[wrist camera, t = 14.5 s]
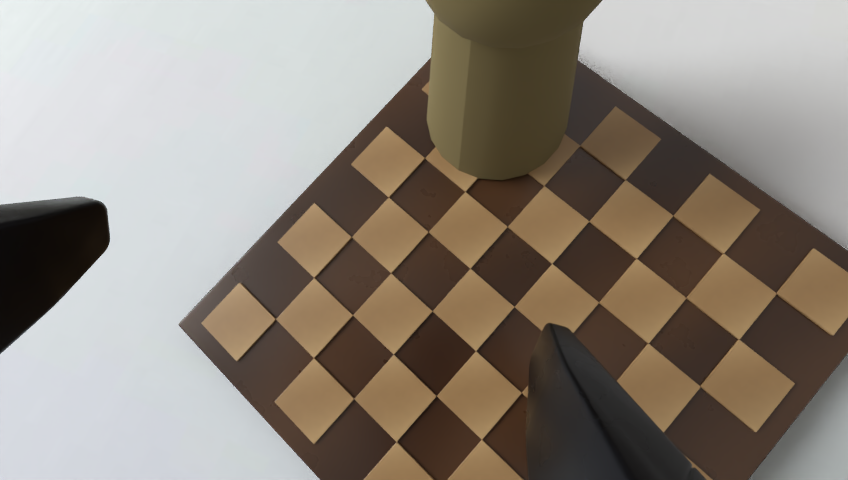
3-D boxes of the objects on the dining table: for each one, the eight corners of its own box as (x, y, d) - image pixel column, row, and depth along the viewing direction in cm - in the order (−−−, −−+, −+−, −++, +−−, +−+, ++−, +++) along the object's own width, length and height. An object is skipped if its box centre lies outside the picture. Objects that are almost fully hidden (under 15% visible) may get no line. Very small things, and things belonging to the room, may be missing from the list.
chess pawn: (504, 25, 21) (538, -305, 10) (599, 119, 19) (755, -145, 9) (398, 107, 20) (319, -140, 10) (488, 209, 19) (509, 50, 8)
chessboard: (875, 289, 18) (904, 286, 17) (545, 706, 17) (550, 735, 15) (487, 12, 22) (488, -6, 21) (192, 325, 21) (175, 324, 20)
